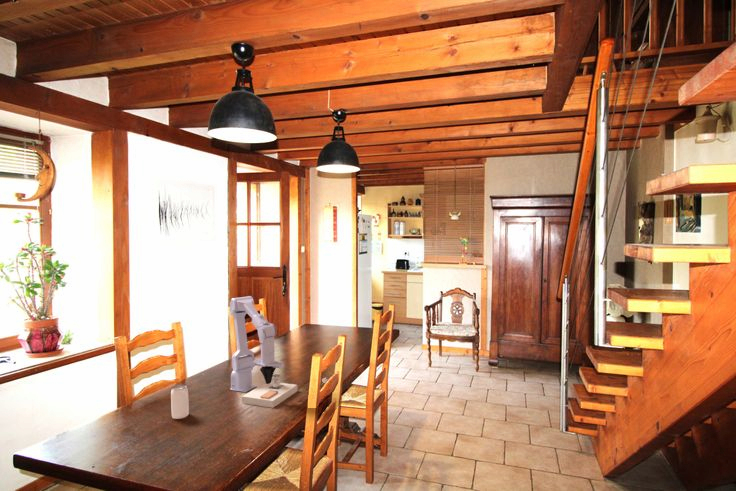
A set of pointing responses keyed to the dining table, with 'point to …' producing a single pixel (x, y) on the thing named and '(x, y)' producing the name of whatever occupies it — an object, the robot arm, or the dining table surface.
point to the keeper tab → (269, 394)
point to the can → (179, 402)
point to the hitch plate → (282, 394)
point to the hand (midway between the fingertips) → (268, 383)
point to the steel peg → (276, 381)
